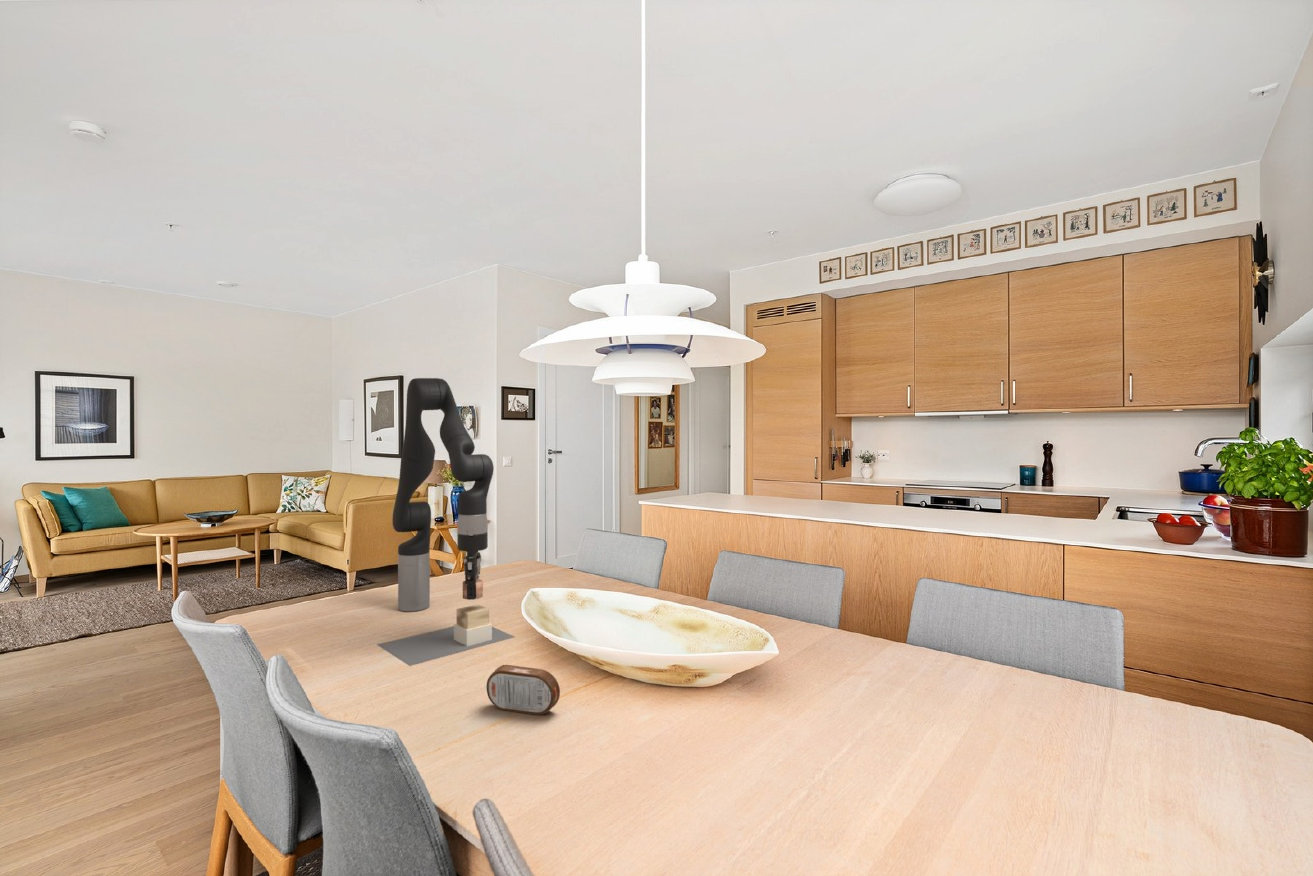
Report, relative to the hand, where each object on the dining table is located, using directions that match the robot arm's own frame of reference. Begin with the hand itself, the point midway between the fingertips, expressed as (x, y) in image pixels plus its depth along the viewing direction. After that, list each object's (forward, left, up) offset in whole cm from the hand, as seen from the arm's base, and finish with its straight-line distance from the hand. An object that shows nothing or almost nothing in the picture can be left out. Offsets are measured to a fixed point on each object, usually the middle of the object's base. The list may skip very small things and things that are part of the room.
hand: (472, 596), depth 156 cm
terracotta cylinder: (0, 0, 0) cm, 0 cm away
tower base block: (0, 0, -11) cm, 11 cm away
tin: (+42, -12, -13) cm, 46 cm away
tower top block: (0, 0, -7) cm, 7 cm away
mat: (-4, -5, -12) cm, 14 cm away
